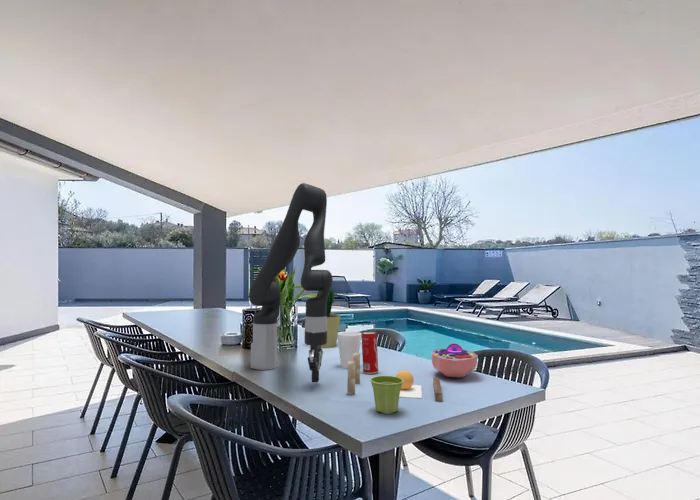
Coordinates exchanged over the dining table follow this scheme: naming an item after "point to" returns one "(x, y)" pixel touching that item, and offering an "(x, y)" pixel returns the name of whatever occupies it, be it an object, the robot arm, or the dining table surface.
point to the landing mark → (411, 392)
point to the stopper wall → (437, 389)
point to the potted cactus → (331, 322)
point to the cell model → (454, 361)
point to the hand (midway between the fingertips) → (315, 381)
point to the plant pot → (386, 393)
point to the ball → (406, 379)
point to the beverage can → (369, 352)
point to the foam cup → (348, 346)
